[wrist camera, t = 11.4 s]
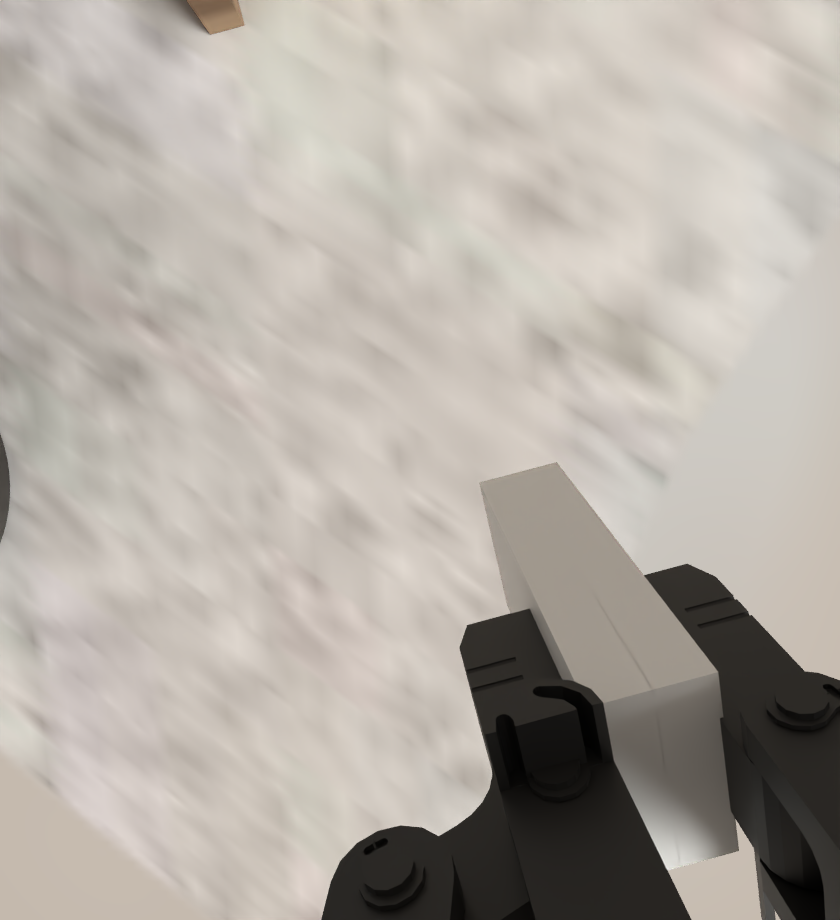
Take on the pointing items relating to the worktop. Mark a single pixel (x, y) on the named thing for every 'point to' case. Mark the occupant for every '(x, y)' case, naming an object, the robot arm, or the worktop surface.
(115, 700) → the worktop surface
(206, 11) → the walnut dock
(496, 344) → the worktop surface
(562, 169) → the worktop surface
